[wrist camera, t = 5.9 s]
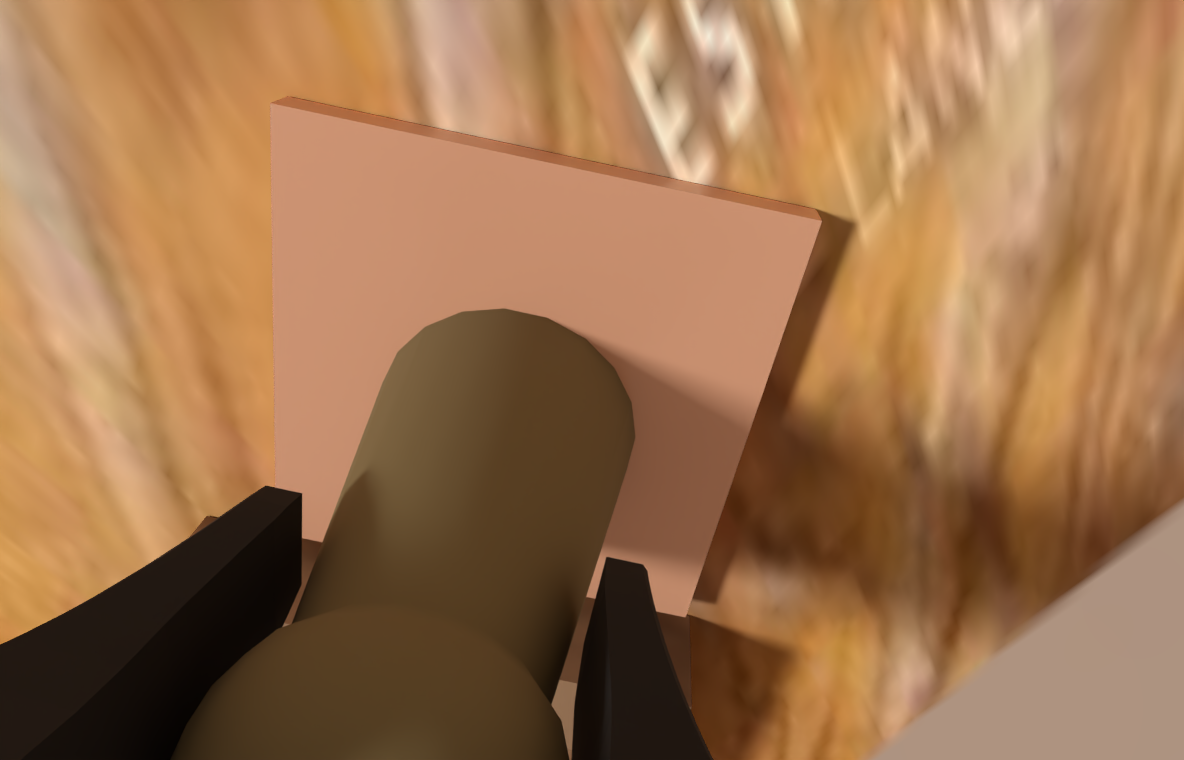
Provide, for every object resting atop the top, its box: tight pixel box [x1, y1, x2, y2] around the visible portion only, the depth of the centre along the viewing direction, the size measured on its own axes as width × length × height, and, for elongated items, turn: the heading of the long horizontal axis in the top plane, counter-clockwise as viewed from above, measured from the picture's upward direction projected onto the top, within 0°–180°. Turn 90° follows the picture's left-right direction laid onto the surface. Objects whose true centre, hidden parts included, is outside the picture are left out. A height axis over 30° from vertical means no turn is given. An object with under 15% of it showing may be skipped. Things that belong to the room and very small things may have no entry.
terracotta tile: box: [270, 96, 822, 617], centre depth 18 cm, size 11×11×1 cm
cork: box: [170, 308, 635, 760], centre depth 14 cm, size 6×6×11 cm
